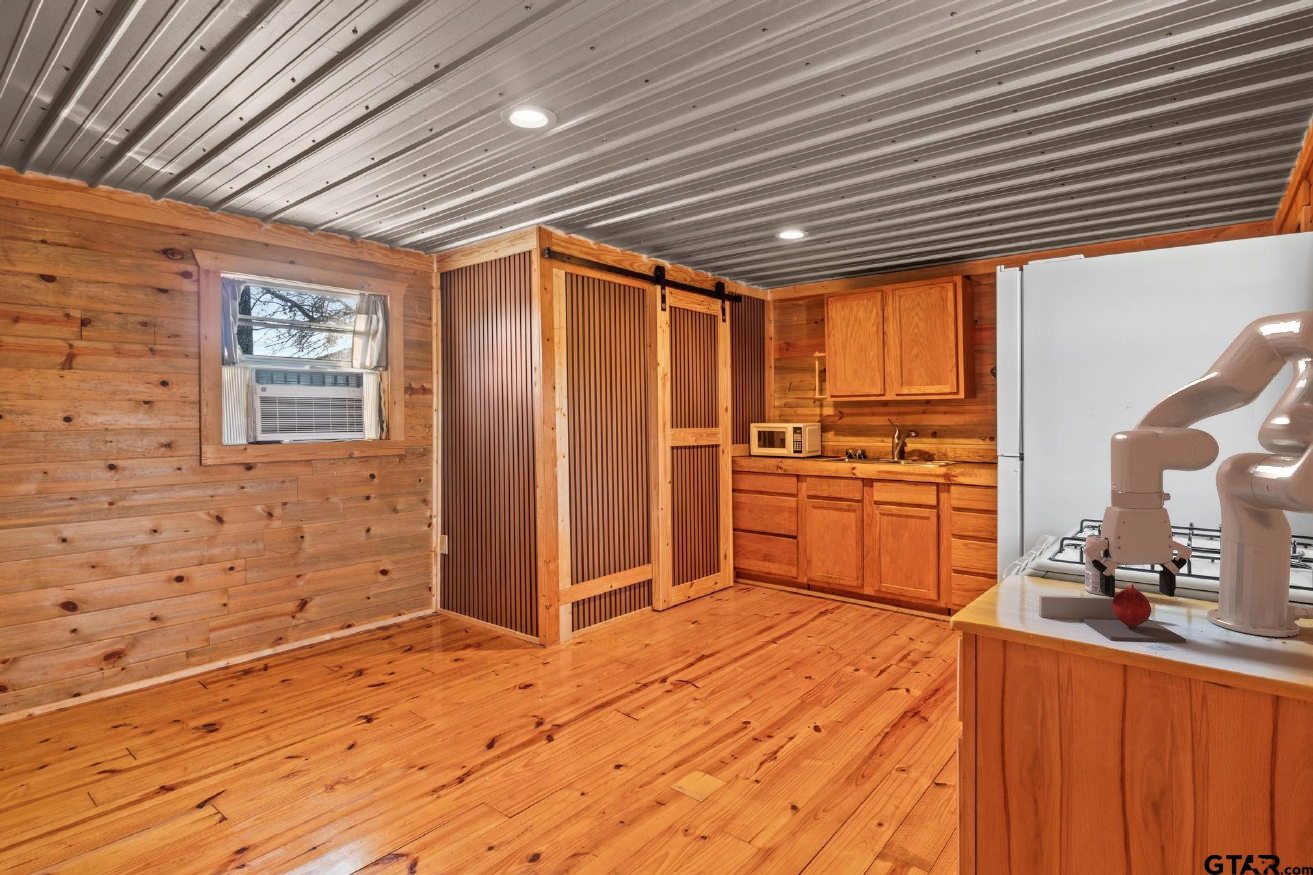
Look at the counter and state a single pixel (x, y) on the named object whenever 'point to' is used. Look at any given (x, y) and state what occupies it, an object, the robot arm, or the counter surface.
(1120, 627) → the rubber mat
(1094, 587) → the energy drink
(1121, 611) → the onion
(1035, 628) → the counter surface
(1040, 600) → the low wall
